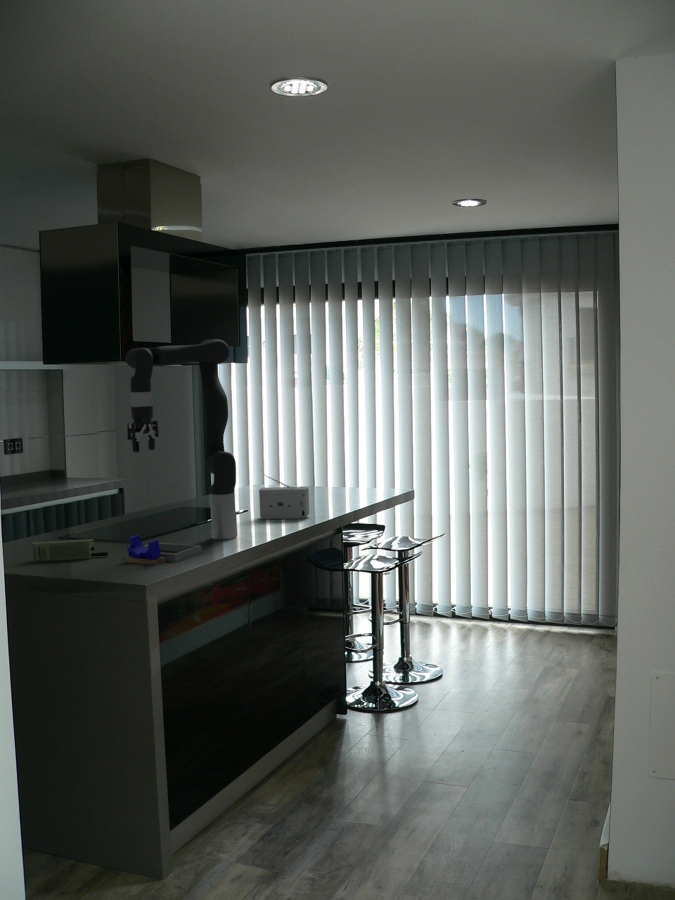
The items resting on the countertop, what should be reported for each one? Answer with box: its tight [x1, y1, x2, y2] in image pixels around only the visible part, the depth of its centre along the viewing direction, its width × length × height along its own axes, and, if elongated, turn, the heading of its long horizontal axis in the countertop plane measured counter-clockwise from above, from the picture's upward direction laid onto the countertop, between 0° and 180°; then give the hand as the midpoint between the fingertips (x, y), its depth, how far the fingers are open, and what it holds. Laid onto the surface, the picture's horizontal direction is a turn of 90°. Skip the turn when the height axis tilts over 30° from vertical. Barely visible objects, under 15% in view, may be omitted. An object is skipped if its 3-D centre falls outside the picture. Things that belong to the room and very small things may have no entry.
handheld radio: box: [32, 538, 109, 562], centre depth 296 cm, size 7×3×25 cm
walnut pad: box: [124, 556, 166, 565], centre depth 287 cm, size 5×13×2 cm, turn 64°
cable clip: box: [126, 534, 162, 560], centre depth 287 cm, size 12×4×6 cm, turn 50°
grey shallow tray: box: [126, 542, 203, 563], centre depth 297 cm, size 15×20×2 cm
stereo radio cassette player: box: [258, 474, 310, 520], centre depth 366 cm, size 21×8×20 cm, turn 84°
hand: (144, 451), depth 301 cm, fingers open, 8 cm apart
